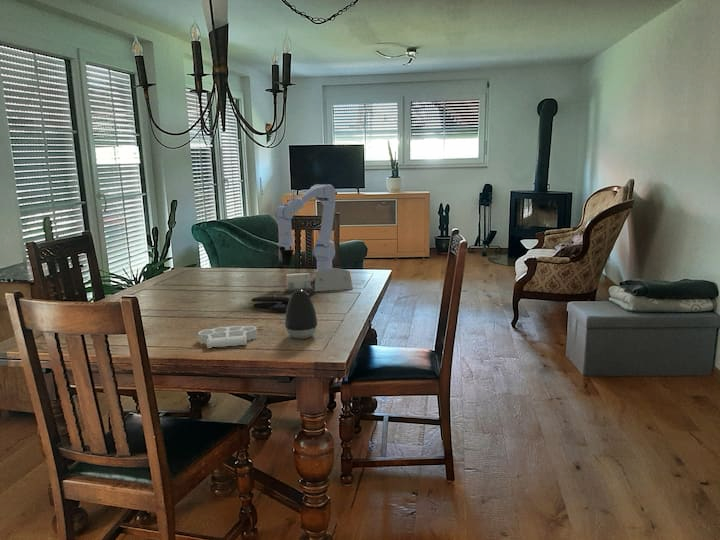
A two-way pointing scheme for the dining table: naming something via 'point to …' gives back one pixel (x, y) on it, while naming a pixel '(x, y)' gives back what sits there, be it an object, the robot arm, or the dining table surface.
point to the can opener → (275, 306)
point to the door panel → (298, 279)
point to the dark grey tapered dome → (301, 315)
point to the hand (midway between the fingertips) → (286, 263)
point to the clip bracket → (291, 288)
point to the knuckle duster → (227, 336)
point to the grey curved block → (332, 279)
